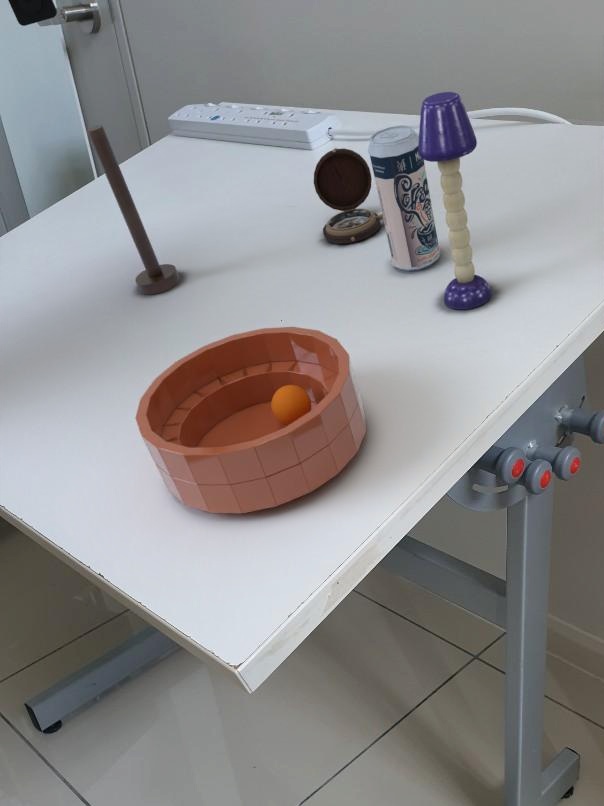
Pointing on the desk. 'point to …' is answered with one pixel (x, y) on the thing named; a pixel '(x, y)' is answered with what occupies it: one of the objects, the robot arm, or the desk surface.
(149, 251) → the stick
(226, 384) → the bowl
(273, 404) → the ball
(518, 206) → the desk surface
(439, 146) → the toy lamp
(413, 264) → the beer can
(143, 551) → the desk surface
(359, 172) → the compass
